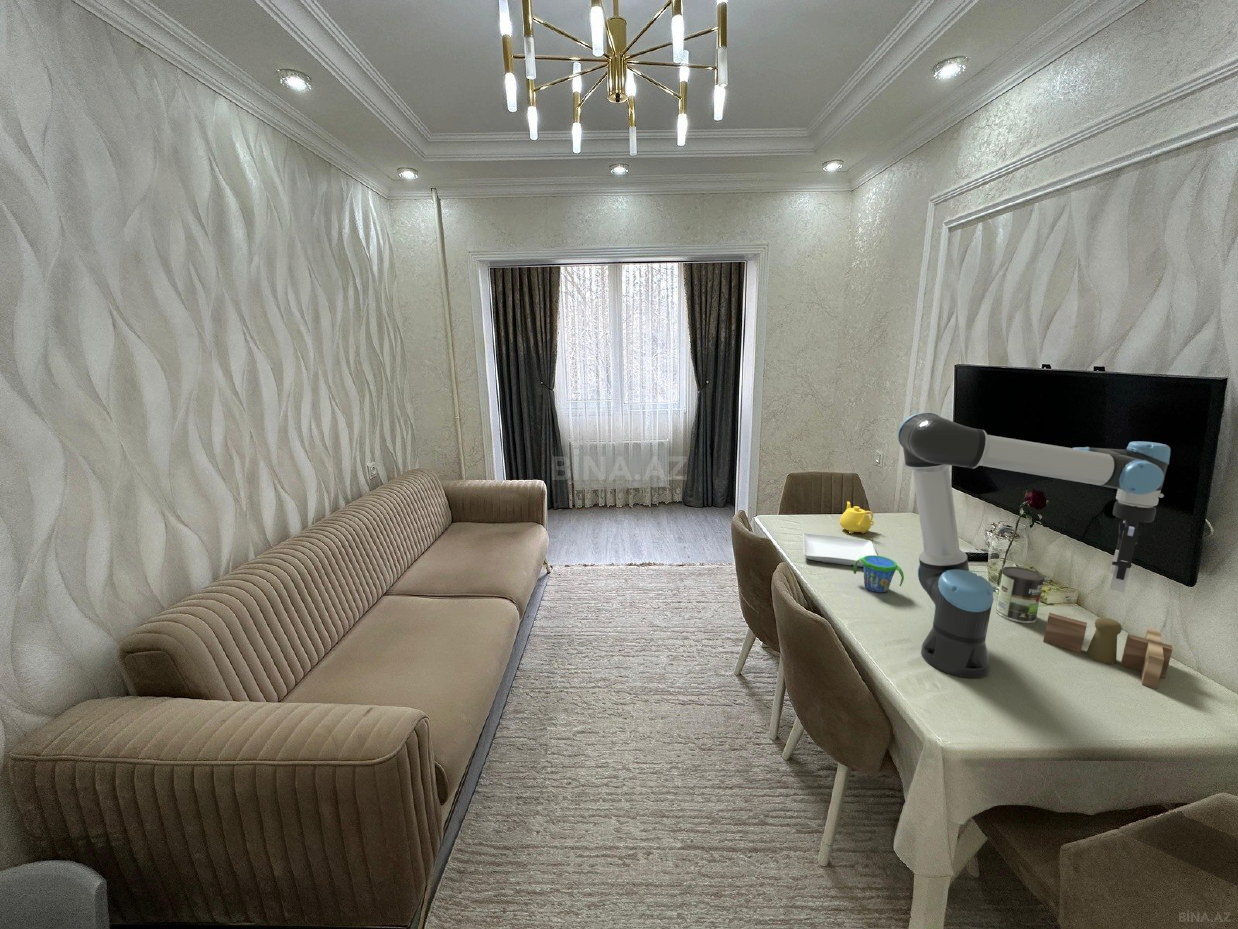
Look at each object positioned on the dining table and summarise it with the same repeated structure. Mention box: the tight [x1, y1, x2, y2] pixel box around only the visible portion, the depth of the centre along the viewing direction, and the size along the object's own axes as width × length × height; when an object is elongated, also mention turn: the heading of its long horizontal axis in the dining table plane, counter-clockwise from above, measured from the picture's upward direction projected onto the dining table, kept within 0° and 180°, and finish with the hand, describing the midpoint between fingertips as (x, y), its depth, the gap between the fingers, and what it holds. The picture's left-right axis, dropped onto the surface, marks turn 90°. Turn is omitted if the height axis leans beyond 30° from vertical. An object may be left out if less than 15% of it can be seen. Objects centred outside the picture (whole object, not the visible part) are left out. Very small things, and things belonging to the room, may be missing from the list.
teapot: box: [839, 501, 875, 534], centre depth 235 cm, size 20×15×12 cm
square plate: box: [802, 532, 878, 568], centre depth 208 cm, size 27×27×4 cm
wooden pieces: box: [1043, 612, 1173, 690], centre depth 138 cm, size 18×24×8 cm
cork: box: [1085, 617, 1123, 665], centre depth 138 cm, size 6×6×11 cm
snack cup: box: [852, 555, 905, 594], centre depth 177 cm, size 16×10×10 cm
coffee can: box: [995, 566, 1046, 624], centre depth 160 cm, size 10×10×14 cm
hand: (1116, 582), depth 134 cm, fingers open, 13 cm apart
